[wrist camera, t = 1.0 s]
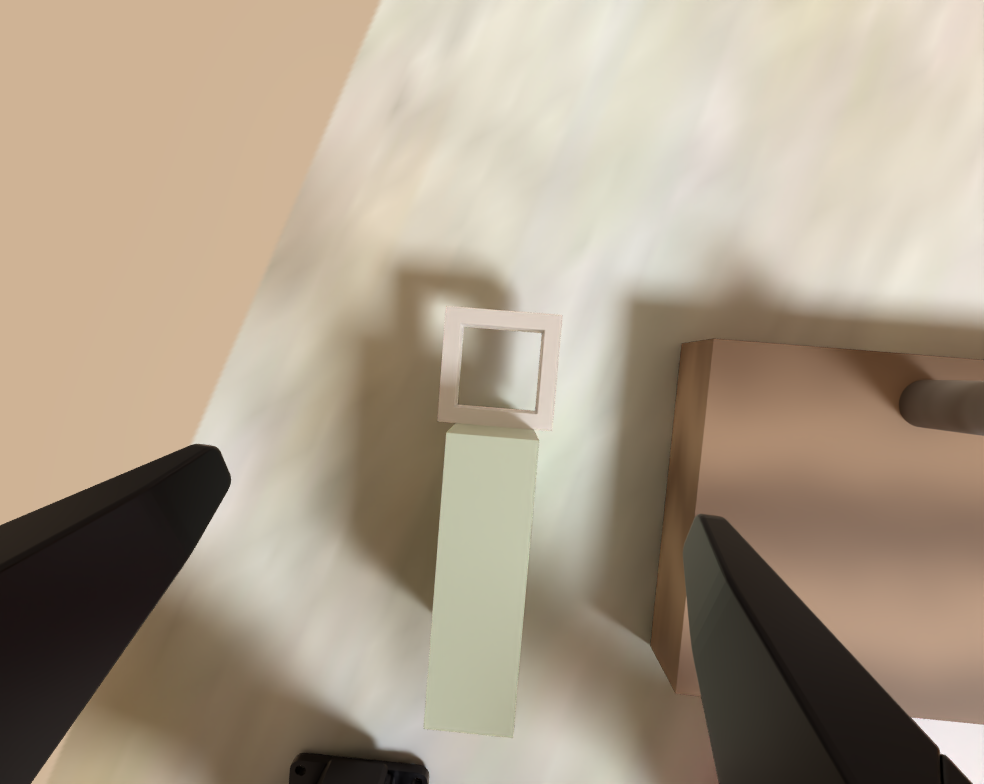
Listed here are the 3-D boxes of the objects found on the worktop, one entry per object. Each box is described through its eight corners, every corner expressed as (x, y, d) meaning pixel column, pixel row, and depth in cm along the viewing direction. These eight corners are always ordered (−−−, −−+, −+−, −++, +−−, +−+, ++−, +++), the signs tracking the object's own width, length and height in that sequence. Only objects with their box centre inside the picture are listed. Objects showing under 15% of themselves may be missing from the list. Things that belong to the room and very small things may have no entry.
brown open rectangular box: (1004, 680, 20) (1309, 869, 12) (650, 645, 20) (736, 808, 13) (1049, 372, 19) (1403, 374, 12) (681, 343, 19) (792, 326, 12)
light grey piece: (525, 632, 20) (533, 740, 14) (432, 623, 21) (402, 726, 15) (552, 324, 20) (573, 304, 14) (456, 317, 20) (435, 293, 14)
